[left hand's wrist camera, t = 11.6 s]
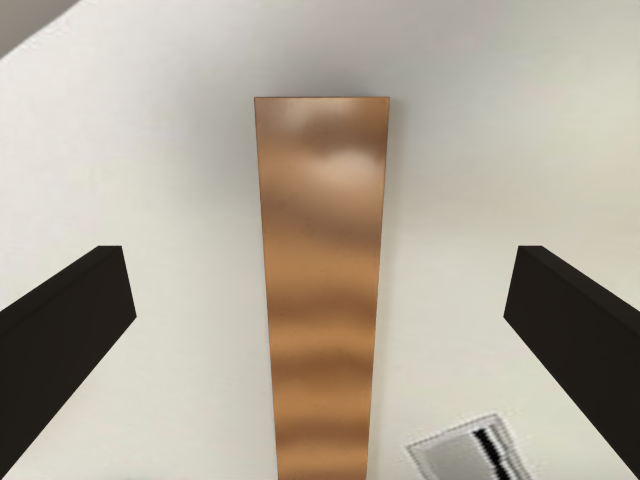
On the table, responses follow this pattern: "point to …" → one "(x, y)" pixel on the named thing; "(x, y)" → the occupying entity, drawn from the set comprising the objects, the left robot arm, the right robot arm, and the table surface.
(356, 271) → the slab
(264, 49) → the table surface
